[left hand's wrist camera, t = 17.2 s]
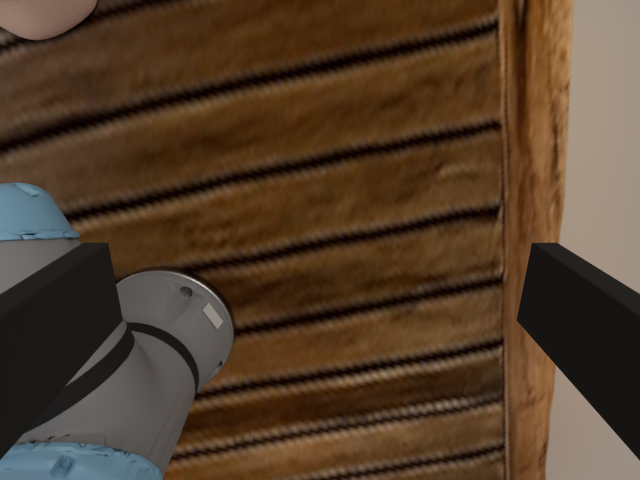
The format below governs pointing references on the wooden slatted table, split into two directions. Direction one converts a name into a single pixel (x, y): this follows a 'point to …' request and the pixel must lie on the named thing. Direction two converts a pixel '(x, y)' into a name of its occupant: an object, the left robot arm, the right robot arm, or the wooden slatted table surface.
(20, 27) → the anatomical model
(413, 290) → the wooden slatted table surface
